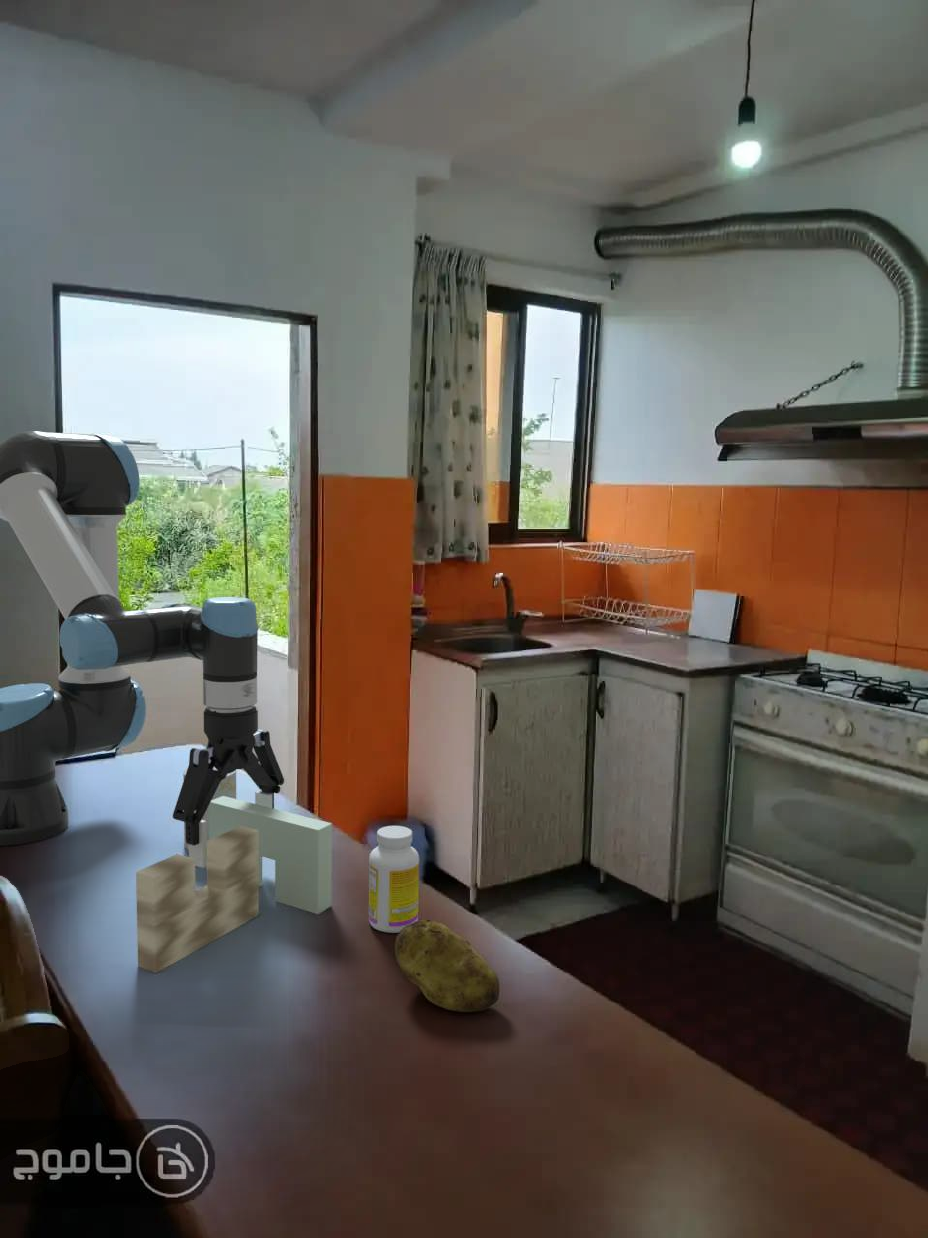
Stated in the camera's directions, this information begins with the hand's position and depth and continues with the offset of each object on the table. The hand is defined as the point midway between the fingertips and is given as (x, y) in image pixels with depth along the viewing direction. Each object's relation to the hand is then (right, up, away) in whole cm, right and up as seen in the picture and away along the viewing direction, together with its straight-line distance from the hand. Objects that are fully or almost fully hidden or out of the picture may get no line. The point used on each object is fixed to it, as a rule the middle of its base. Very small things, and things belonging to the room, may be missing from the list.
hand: (232, 849), depth 136 cm
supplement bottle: (+24, -8, -10) cm, 27 cm away
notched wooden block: (0, -7, -16) cm, 18 cm away
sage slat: (+6, -6, -3) cm, 8 cm away
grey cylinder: (-7, -3, +15) cm, 17 cm away
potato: (+31, -10, -28) cm, 43 cm away
